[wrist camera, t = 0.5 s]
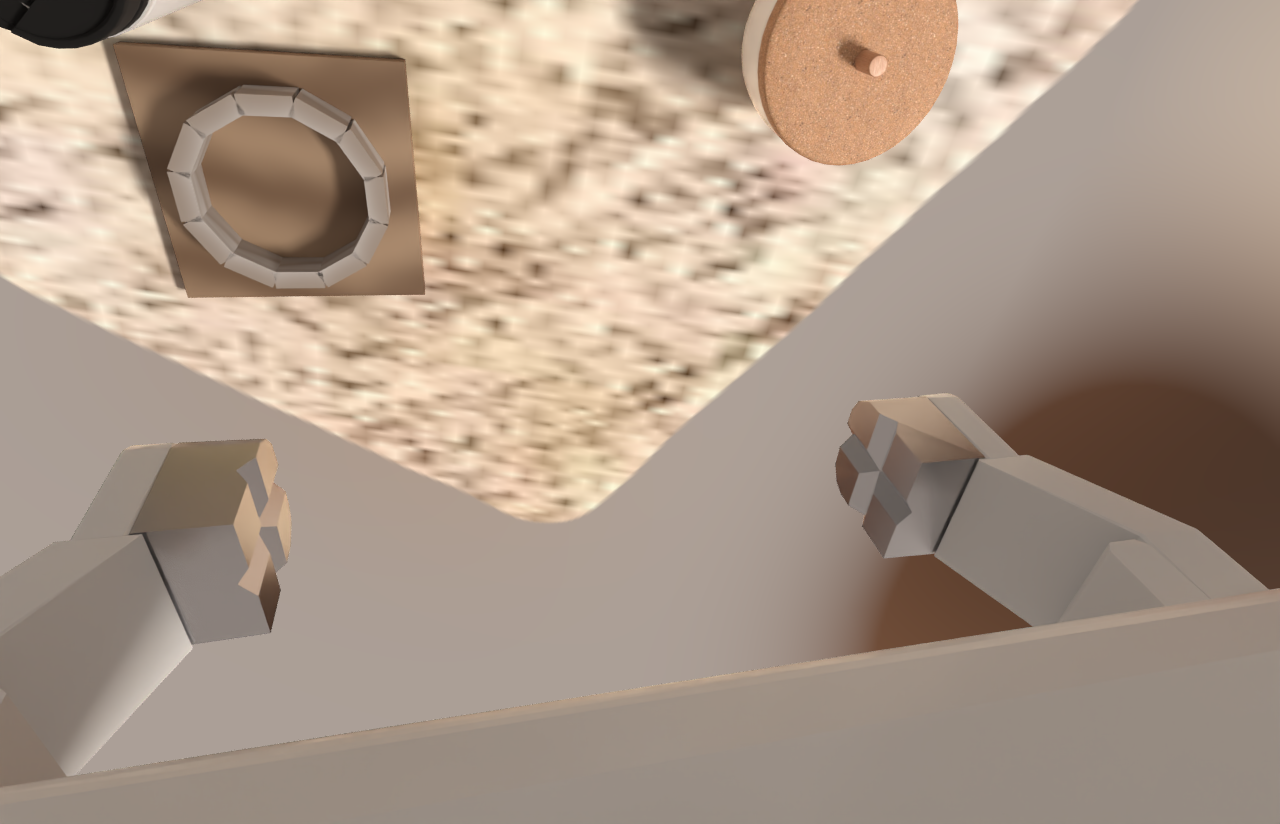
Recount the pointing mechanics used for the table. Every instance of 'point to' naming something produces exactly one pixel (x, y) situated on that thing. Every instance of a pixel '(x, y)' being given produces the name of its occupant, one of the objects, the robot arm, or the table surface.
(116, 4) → the travel mug
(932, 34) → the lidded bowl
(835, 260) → the table surface
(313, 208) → the collar board
